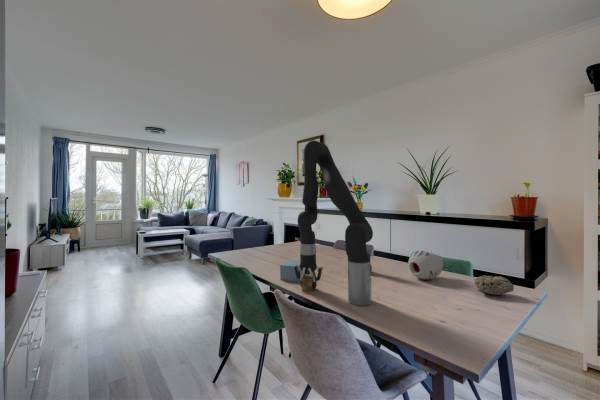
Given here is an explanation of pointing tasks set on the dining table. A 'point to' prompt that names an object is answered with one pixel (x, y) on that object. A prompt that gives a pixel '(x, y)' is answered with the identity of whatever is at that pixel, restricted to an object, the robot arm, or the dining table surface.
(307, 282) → the walnut block
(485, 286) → the pumice stone
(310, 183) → the robot arm
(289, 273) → the slate-blue plinth
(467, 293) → the dining table surface
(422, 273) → the decorative object
